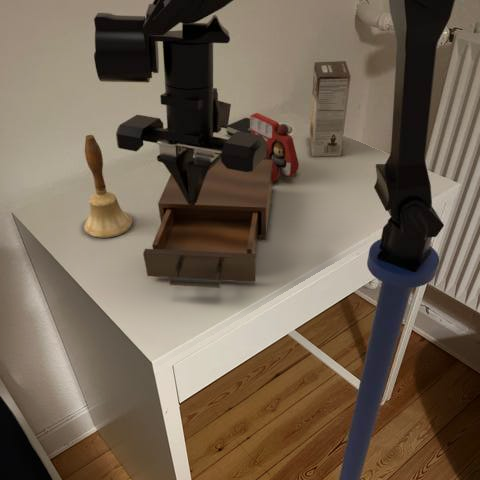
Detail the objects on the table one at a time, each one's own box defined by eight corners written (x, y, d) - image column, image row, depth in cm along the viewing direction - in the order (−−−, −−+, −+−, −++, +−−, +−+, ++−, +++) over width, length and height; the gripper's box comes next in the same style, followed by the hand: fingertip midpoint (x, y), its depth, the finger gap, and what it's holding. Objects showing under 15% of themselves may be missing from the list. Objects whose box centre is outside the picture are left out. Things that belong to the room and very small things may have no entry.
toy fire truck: (279, 190, 96) (280, 136, 89) (239, 167, 103) (237, 116, 96) (305, 178, 99) (309, 126, 92) (264, 157, 106) (265, 107, 99)
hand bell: (124, 208, 93) (106, 121, 82) (138, 230, 87) (121, 140, 76) (79, 220, 90) (55, 132, 79) (91, 243, 85) (66, 152, 74)
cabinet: (265, 239, 84) (266, 207, 80) (162, 235, 86) (157, 203, 82) (272, 190, 96) (273, 159, 92) (181, 187, 98) (178, 157, 94)
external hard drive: (246, 125, 119) (246, 117, 117) (282, 138, 113) (282, 129, 112) (225, 134, 115) (225, 126, 114) (261, 148, 109) (261, 139, 108)
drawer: (252, 301, 72) (252, 277, 69) (140, 294, 73) (135, 271, 70) (263, 224, 86) (263, 202, 83) (169, 221, 87) (166, 198, 85)
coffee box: (308, 138, 113) (313, 60, 102) (337, 138, 112) (345, 60, 101) (311, 157, 106) (317, 76, 95) (342, 156, 106) (352, 75, 95)
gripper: (284, 76, 63) (274, 192, 73) (151, 59, 68) (159, 170, 78) (254, 101, 55) (248, 227, 65) (106, 78, 60) (121, 200, 70)
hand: (192, 203), depth 70 cm, fingers closed
